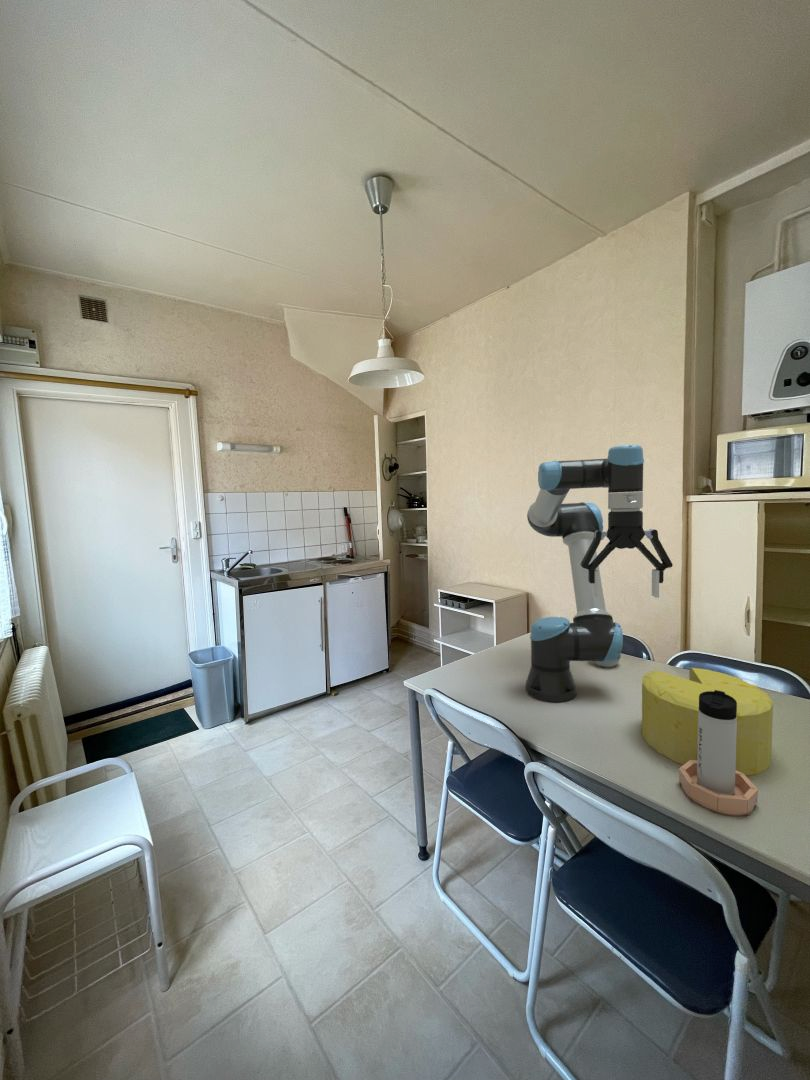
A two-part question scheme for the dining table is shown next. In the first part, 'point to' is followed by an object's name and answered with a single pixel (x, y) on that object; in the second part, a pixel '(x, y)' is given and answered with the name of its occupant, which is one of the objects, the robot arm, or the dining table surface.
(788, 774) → the dining table surface
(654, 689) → the cheese
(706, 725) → the travel mug
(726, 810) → the bowl
